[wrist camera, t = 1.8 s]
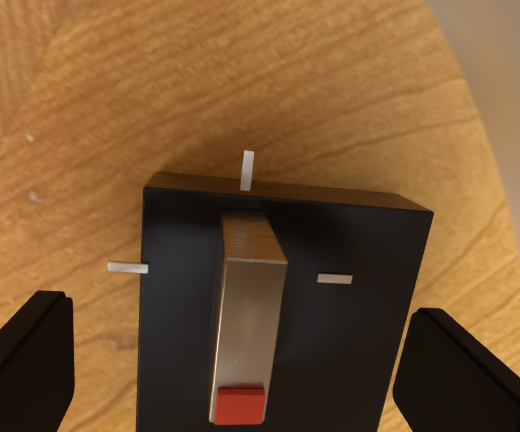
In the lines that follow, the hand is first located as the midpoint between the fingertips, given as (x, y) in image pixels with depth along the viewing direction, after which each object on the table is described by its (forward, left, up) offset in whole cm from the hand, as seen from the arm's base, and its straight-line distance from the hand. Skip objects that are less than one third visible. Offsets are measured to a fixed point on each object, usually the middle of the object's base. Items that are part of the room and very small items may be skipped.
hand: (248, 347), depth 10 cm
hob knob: (0, 0, -4) cm, 4 cm away
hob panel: (+4, +2, -7) cm, 8 cm away
